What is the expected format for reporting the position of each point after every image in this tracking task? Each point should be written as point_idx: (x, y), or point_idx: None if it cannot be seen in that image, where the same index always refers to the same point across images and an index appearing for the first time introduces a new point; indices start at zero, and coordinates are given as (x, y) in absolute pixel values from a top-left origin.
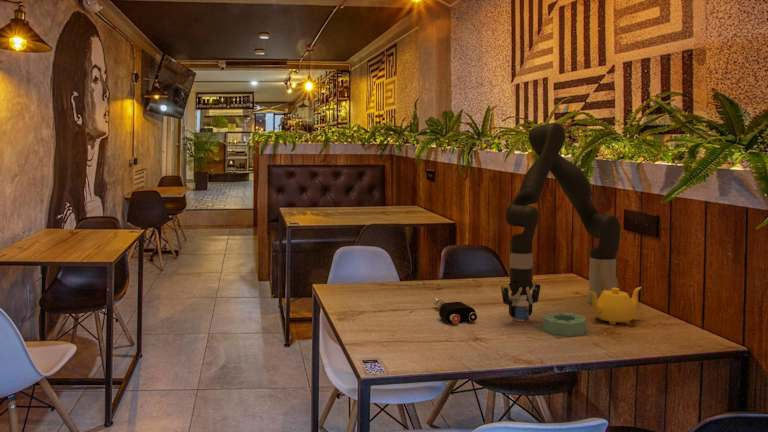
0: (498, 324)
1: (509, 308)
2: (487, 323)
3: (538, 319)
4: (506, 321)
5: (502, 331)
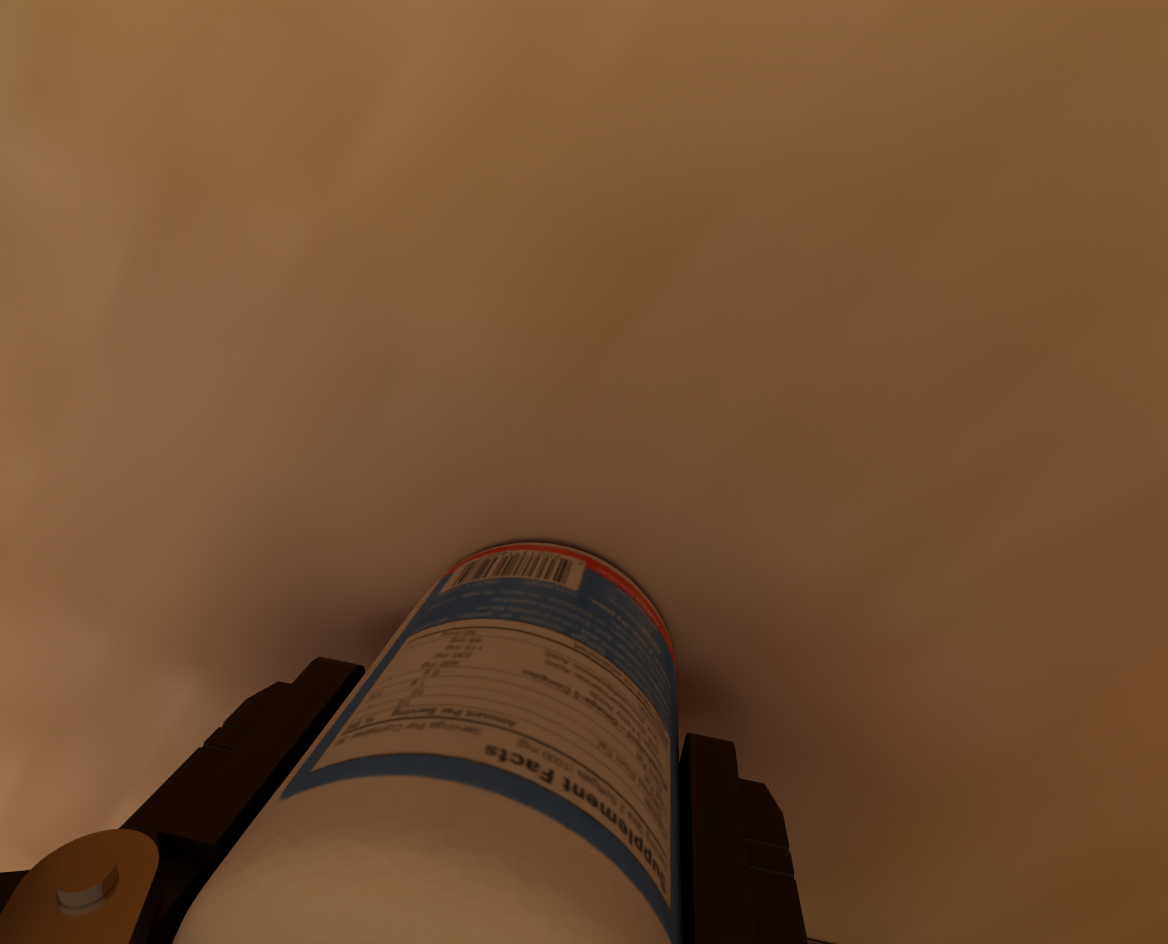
0: (200, 528)
1: (160, 815)
2: (61, 395)
3: (992, 657)
4: (403, 463)
5: (115, 780)
